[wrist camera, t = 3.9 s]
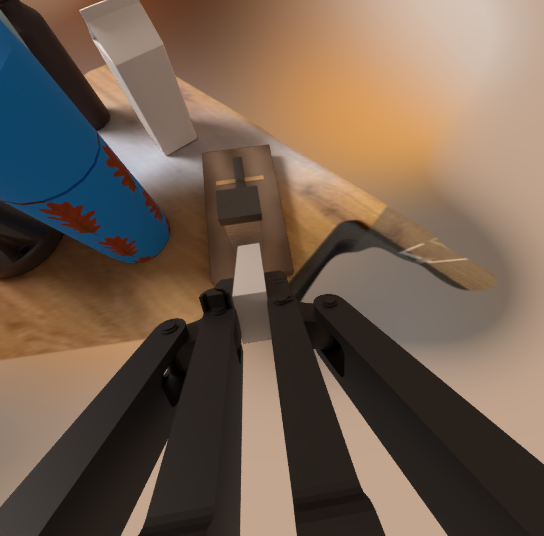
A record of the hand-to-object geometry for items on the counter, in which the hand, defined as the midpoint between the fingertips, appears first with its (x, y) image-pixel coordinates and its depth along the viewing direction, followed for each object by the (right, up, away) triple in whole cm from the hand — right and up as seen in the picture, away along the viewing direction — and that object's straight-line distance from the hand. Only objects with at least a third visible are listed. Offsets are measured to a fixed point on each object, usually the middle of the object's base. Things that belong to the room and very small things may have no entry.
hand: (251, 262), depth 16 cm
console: (-3, +9, +23) cm, 25 cm away
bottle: (-35, +30, +31) cm, 55 cm away
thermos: (-21, +5, +22) cm, 31 cm away
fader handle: (-2, +3, +18) cm, 18 cm away
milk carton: (-18, +25, +29) cm, 43 cm away
